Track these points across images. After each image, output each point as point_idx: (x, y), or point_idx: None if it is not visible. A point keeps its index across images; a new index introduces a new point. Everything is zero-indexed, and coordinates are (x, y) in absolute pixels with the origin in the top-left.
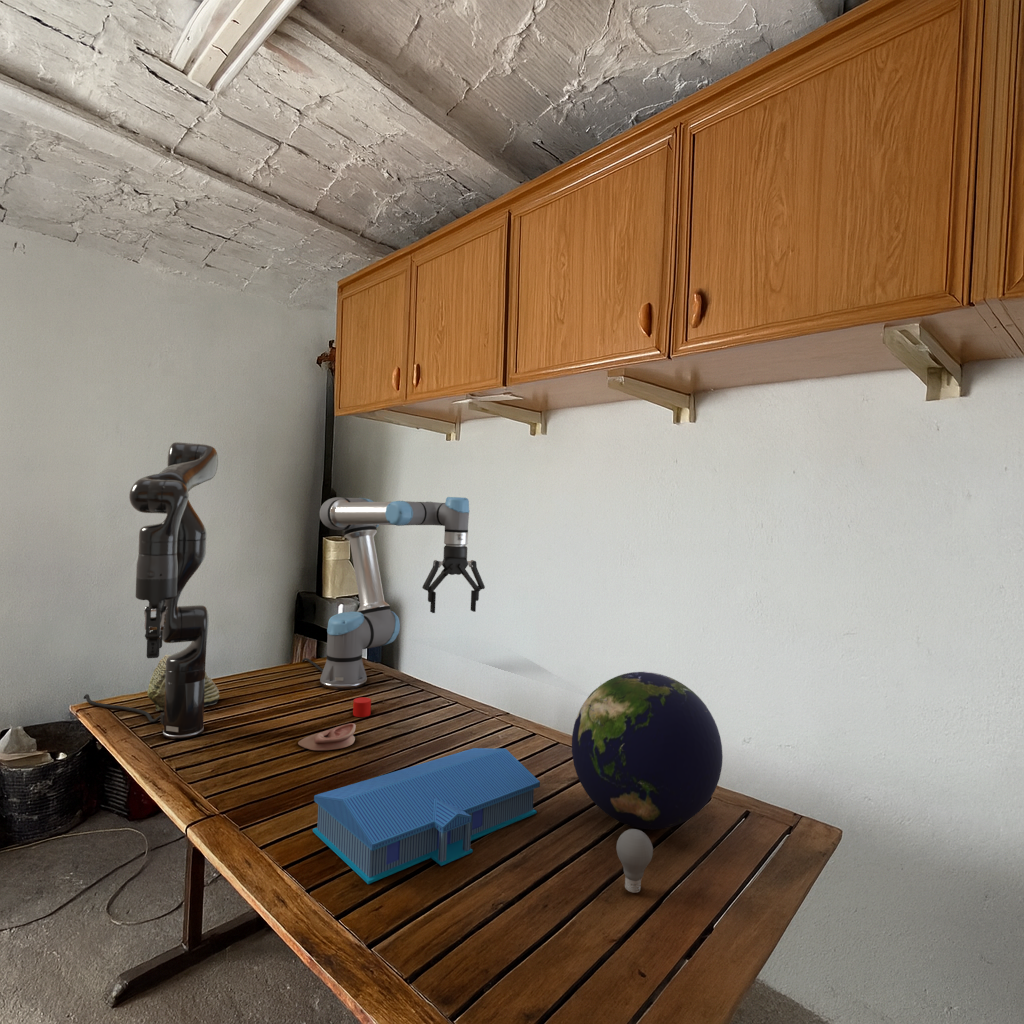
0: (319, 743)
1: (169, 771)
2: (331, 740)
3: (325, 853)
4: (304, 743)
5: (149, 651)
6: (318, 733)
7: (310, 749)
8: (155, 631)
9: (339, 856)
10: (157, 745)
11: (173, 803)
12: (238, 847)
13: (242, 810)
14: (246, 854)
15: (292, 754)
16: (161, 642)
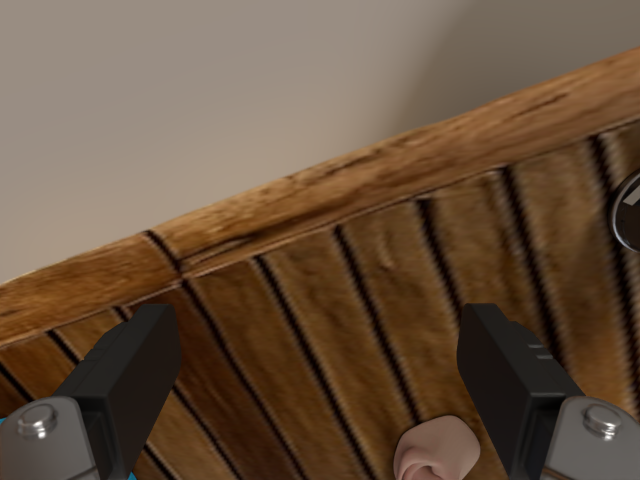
0: (404, 452)
1: (417, 186)
2: (397, 474)
3: (21, 403)
4: (433, 427)
5: (97, 348)
6: (438, 462)
7: (408, 430)
8: (520, 431)
9: (4, 418)
10: (602, 149)
11: (248, 202)
12: (55, 302)
13: (185, 312)
14: (32, 312)
15: (405, 400)
16: (471, 390)
